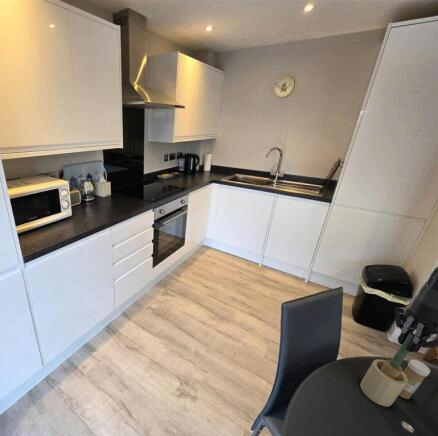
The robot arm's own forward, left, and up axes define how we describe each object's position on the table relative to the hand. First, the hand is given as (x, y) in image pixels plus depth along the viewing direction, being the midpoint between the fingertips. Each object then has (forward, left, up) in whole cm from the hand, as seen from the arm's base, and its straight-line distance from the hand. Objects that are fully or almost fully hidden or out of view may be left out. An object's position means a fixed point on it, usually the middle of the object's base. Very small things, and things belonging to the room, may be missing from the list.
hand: (405, 347), depth 74 cm
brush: (0, 0, -13) cm, 13 cm away
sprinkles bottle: (-8, -5, -22) cm, 24 cm away
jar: (0, 0, -22) cm, 22 cm away
